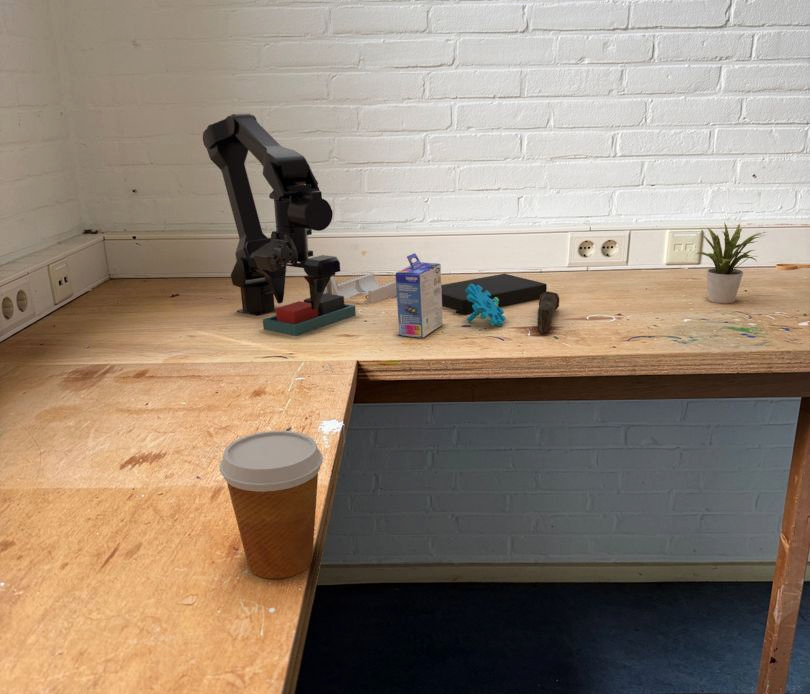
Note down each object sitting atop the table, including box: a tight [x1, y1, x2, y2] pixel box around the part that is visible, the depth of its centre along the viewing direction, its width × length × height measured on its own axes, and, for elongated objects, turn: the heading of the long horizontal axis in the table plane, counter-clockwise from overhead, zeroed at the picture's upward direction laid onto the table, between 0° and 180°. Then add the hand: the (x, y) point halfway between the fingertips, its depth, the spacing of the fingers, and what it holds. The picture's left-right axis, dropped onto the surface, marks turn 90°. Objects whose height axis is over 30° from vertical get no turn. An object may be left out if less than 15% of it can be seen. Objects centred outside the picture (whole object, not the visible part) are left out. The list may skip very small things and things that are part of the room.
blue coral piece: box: [465, 284, 507, 327], centre depth 156 cm, size 11×6×10 cm
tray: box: [262, 303, 357, 337], centre depth 158 cm, size 9×18×2 cm, turn 144°
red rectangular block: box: [275, 301, 318, 324], centre depth 155 cm, size 5×6×4 cm
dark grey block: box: [303, 293, 345, 316], centre depth 161 cm, size 5×6×4 cm
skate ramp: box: [323, 270, 397, 305], centre depth 180 cm, size 15×13×5 cm
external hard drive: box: [441, 273, 548, 315], centre depth 174 cm, size 14×23×3 cm, turn 124°
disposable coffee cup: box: [219, 430, 324, 579], centre depth 76 cm, size 10×10×12 cm
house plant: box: [695, 221, 766, 304], centre depth 164 cm, size 14×14×16 cm
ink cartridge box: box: [395, 252, 444, 339], centre depth 150 cm, size 10×6×14 cm, turn 155°
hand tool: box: [537, 290, 560, 334], centre depth 155 cm, size 19×4×5 cm, turn 164°
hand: (297, 306), depth 154 cm, fingers open, 9 cm apart
